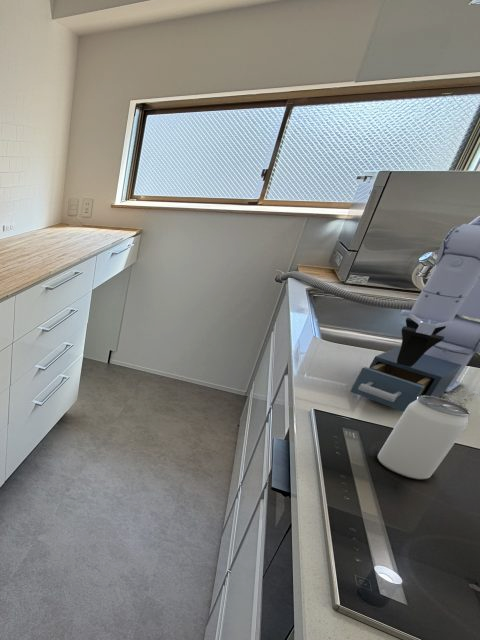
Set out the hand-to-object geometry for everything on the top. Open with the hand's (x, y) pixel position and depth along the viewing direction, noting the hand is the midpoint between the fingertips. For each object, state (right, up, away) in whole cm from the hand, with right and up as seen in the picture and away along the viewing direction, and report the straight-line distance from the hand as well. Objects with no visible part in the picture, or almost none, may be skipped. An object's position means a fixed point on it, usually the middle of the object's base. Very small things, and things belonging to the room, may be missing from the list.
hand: (405, 359), depth 82 cm
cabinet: (+9, -7, +9) cm, 15 cm away
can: (-16, -18, -15) cm, 28 cm away
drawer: (0, -8, +4) cm, 9 cm away
